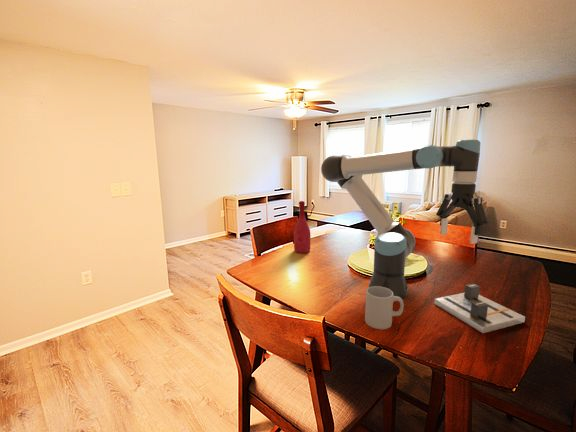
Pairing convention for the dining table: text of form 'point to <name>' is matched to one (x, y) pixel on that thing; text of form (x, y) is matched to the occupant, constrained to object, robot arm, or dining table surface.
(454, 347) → the dining table surface
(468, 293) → the fader tab
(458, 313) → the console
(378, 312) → the mug
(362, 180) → the robot arm
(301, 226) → the wine bottle
